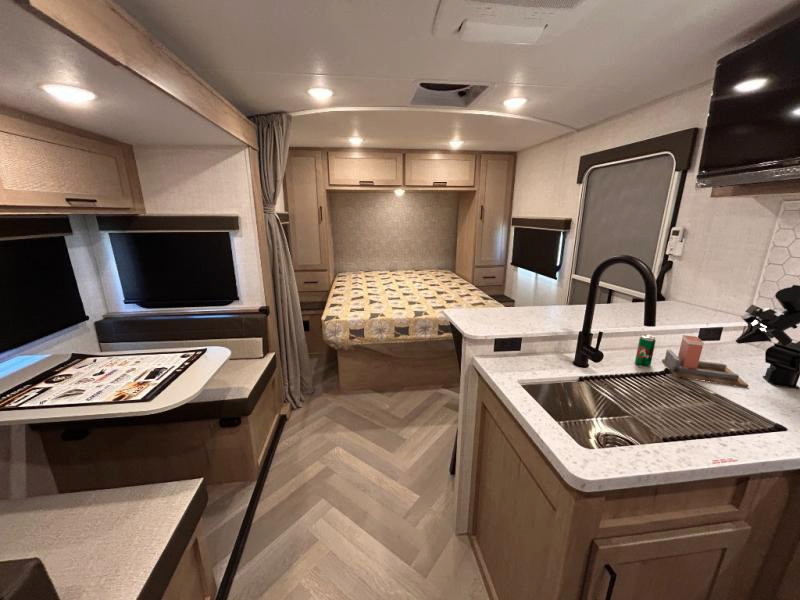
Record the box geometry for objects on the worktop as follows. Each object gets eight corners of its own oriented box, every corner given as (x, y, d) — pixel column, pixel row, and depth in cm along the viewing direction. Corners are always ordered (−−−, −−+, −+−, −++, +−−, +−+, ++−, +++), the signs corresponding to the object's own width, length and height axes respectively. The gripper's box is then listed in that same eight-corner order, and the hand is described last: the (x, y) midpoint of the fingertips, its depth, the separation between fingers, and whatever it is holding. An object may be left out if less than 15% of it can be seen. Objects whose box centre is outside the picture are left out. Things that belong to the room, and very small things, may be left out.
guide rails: (723, 368, 119) (726, 356, 118) (737, 381, 110) (741, 368, 109) (664, 361, 126) (666, 349, 125) (673, 372, 117) (676, 359, 116)
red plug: (689, 365, 121) (696, 336, 118) (696, 372, 116) (704, 342, 113) (676, 363, 123) (682, 335, 120) (682, 370, 117) (689, 341, 114)
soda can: (645, 361, 128) (650, 334, 125) (653, 367, 123) (659, 339, 120) (631, 361, 128) (637, 333, 125) (639, 366, 124) (645, 338, 120)
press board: (726, 369, 120) (727, 367, 120) (747, 387, 108) (748, 385, 108) (662, 361, 128) (662, 358, 128) (675, 377, 116) (675, 374, 115)
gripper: (755, 292, 113) (708, 317, 121) (789, 305, 97) (732, 333, 104) (779, 315, 112) (730, 339, 120) (818, 332, 96) (758, 359, 103)
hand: (736, 342), depth 112 cm, fingers closed
